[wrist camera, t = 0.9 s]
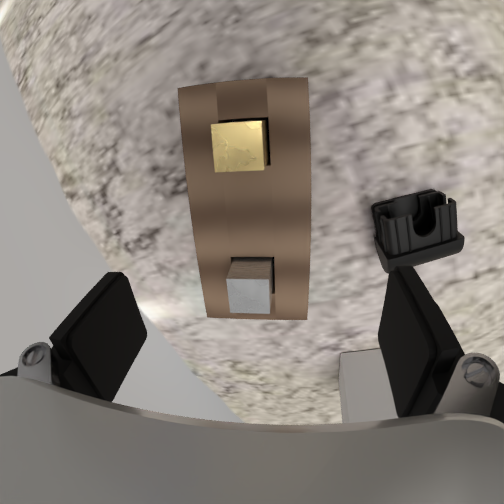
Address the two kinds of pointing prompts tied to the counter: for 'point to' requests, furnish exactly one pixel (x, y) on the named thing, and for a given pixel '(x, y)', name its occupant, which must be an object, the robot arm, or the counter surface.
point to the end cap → (416, 229)
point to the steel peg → (250, 285)
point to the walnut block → (251, 191)
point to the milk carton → (365, 387)
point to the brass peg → (240, 146)
